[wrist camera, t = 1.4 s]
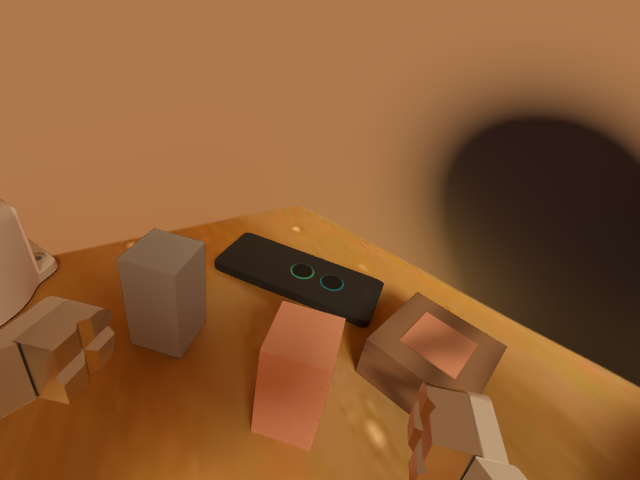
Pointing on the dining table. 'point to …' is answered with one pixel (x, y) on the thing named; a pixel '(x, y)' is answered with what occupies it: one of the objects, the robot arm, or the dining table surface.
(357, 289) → the smart home device
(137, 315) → the grey block
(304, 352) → the terracotta block
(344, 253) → the dining table surface
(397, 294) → the dining table surface
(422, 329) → the walnut base block
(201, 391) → the dining table surface
